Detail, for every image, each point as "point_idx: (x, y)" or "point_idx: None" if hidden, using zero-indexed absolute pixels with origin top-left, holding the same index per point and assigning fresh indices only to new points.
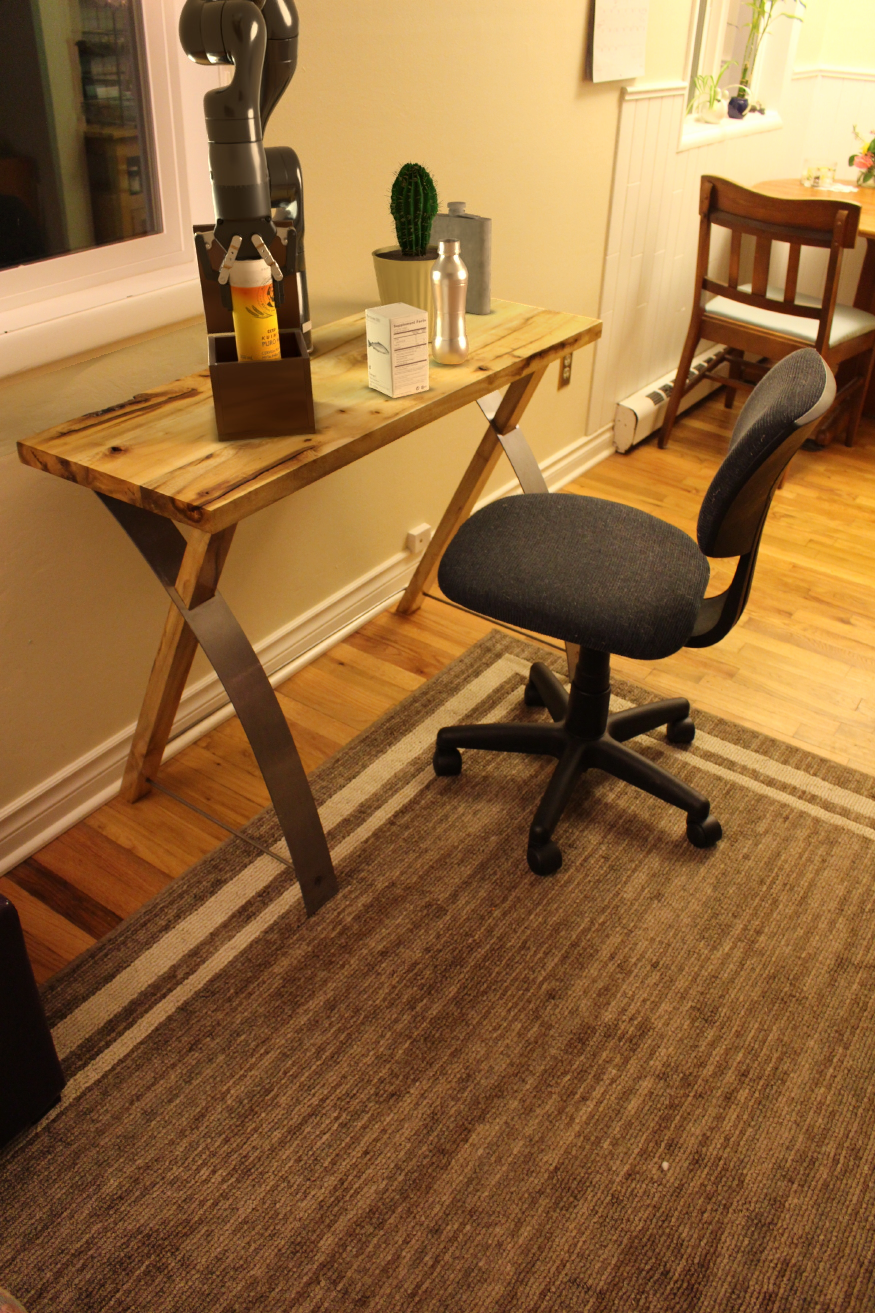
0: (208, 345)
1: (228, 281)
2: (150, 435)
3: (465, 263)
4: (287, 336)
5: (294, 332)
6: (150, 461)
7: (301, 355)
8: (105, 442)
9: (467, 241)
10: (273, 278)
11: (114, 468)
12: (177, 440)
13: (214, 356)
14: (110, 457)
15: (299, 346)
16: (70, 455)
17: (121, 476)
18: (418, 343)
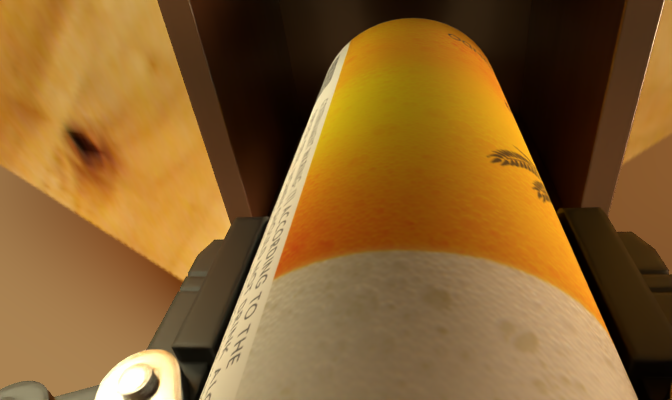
0: (162, 9)
1: (209, 350)
2: (117, 71)
3: None
4: None
5: None
6: (179, 210)
7: (579, 204)
8: (36, 100)
9: None
10: (643, 366)
11: (127, 228)
12: (194, 113)
13: (235, 173)
14: (94, 181)
15: (606, 96)
16: (10, 159)
17: (155, 258)
18: None
